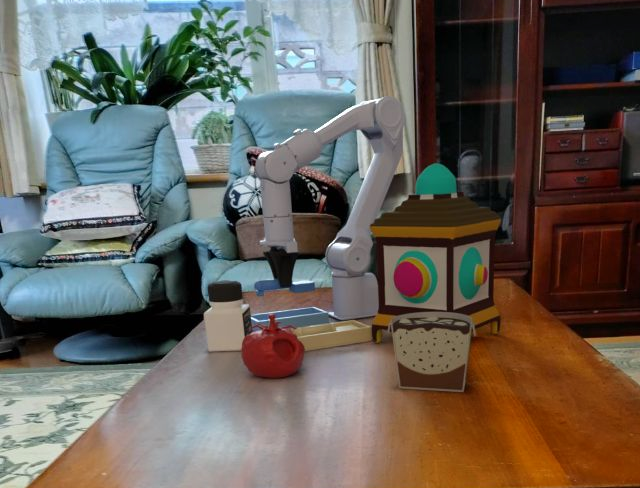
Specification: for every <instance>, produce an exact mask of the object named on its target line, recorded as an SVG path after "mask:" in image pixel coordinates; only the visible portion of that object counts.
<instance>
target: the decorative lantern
mask: <svg viewBox="0 0 640 488" xmlns="http://www.w3.org/2000/svg"><path fill="white" fill-rule="evenodd" d="M415 182H416V183H415V194H414V193H412V194H408V197H407V199H405V200H403V201H401V203H400V205H398V206H396V207H395V208H394V210H393V211H385V212H382V213H381V214H380V216H379V217H377V218H376V219H375V220H374V223H372V224H371V225H370V229H371V233H372V235H373V237H374V239H375V243H376V261H377V262H376V268H377V269H376V270H377V283H378V301H379V308H378V312H377V314H376V316H374V319H373V320H372V324H371V327H372V341H373V343H375V344H380V343H381V341H382V339H383V330H384V331H388V327H389V323H391V319H392V318H393V317H396V316H399V315H404V314H410V313H419V312H451V313H459V314H464V315H467V316H469V317H471V318H472V322H473V323H474V326H475V330H477V329H479V328H481V327H484V326H486V325H489V324H490V325H489V327H490V332H491V334H493V335H497V334H498V333H499V332H500V330H501V315H500V312H499V310H498V308H497V307H496V304H495V302H494V289H495V287H494V285H495V253H496V252H495V251H496V250H495V247H496V234H497V231H498V229H499V227H500V225H501V221H502V216H499V215H498V214H497V212H496V211H492V210H491V208H490V207H489V206H479V205H478V204H477V202H474V201H472V200H471V199H470V197H468V196H465V194H464V191H457V180H456V176H455V175H454V174H453V173H452V172H451V171H450V169H448V167H446V166H445V165H444V164H441V163H436V162H434V163H433V164H430V165H428V166H427V167H426V168H424V170H422V172H421V173H420V174H419V175H418V177H417V178H416V181H415Z"/></svg>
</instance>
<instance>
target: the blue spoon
mask: <svg viewBox="0 0 640 488" xmlns="http://www.w3.org/2000/svg"><path fill="white" fill-rule="evenodd" d="M253 287H254V289H255V290H256V296H257V297H264V296H265V292H267V291H275V290H284V289H288V291H289V292H291V293H293V294H301V293H302V294H303V293H312V292H316V285H315V282H314V281H311V280H309V279H308V280H307V279H306V280H299V281H297V280H296V281H293V280H292V283H291V287H284V288H281V287H280V285H279V281H278V279H274V278H271V279H262V280H261V279H260V280H256V281H255V282H254V285H253Z"/></svg>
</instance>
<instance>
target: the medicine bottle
mask: <svg viewBox="0 0 640 488" xmlns="http://www.w3.org/2000/svg"><path fill="white" fill-rule="evenodd" d="M242 286H243V285H242V283H241V282H240V281H238V280H234V279H223V280H222V279H221V280H215V281H212V282H210V283H209V284H208V285H207V287H206V288H207V294H208V296H207V297H208V304H209V306H210V308H208V309H207V310H206V311H205V312H204V313H203V321H204V328H205V329H204V330H205V337H206V343H207V344H206V345H207V352H210V353H212V352H213V353H214V352H236V351H239V352H241V348H242V342H243V339H244V338H245V337H246V336H247V335H249V334H251V333H253V331H252V329H250V328H252V324H251V315H252V314H251V305H250V304H248V303H244V297H243V287H242ZM249 329H250V330H249Z"/></svg>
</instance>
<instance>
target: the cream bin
mask: <svg viewBox="0 0 640 488" xmlns="http://www.w3.org/2000/svg"><path fill="white" fill-rule="evenodd" d="M331 323H332V324H334V325H335V326H336V327H340V326H347V325H353V326H356V327H358V328H355V329H349V330H342V331H335V332H328V333H321V334H315V335H308V336H301V337H297V338H298V340H299V341H300V342H302V344H303V345H304V348H305V352H308V351H315V350H322V349H327V348H334V347H339V346H340V347H342V346H346V345H353V344H359V343H366V342H372V341H373V339H372V325H368V324H365V323H363V322H360V321H357V320H356V319H349V320H342V321H336V322H331ZM290 330H291V331H292V332H293V333H294V332H295V330H296V329H290Z"/></svg>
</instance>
